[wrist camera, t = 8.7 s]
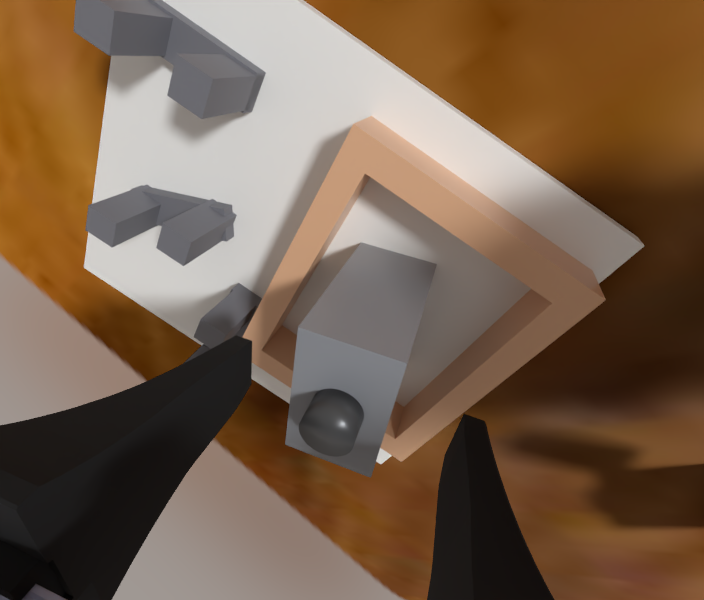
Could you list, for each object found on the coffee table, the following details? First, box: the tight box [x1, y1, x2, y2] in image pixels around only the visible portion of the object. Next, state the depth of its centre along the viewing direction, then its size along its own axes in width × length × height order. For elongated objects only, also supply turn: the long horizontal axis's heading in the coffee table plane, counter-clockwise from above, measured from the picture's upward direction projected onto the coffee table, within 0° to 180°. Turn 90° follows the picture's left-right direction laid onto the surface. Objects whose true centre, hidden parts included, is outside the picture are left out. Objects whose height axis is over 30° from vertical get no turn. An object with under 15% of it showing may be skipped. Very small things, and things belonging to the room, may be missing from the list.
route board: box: [74, 0, 644, 464], centre depth 16 cm, size 19×16×4 cm
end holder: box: [243, 116, 606, 462], centre depth 16 cm, size 9×11×2 cm
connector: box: [285, 242, 437, 478], centre depth 14 cm, size 3×5×7 cm, turn 170°
